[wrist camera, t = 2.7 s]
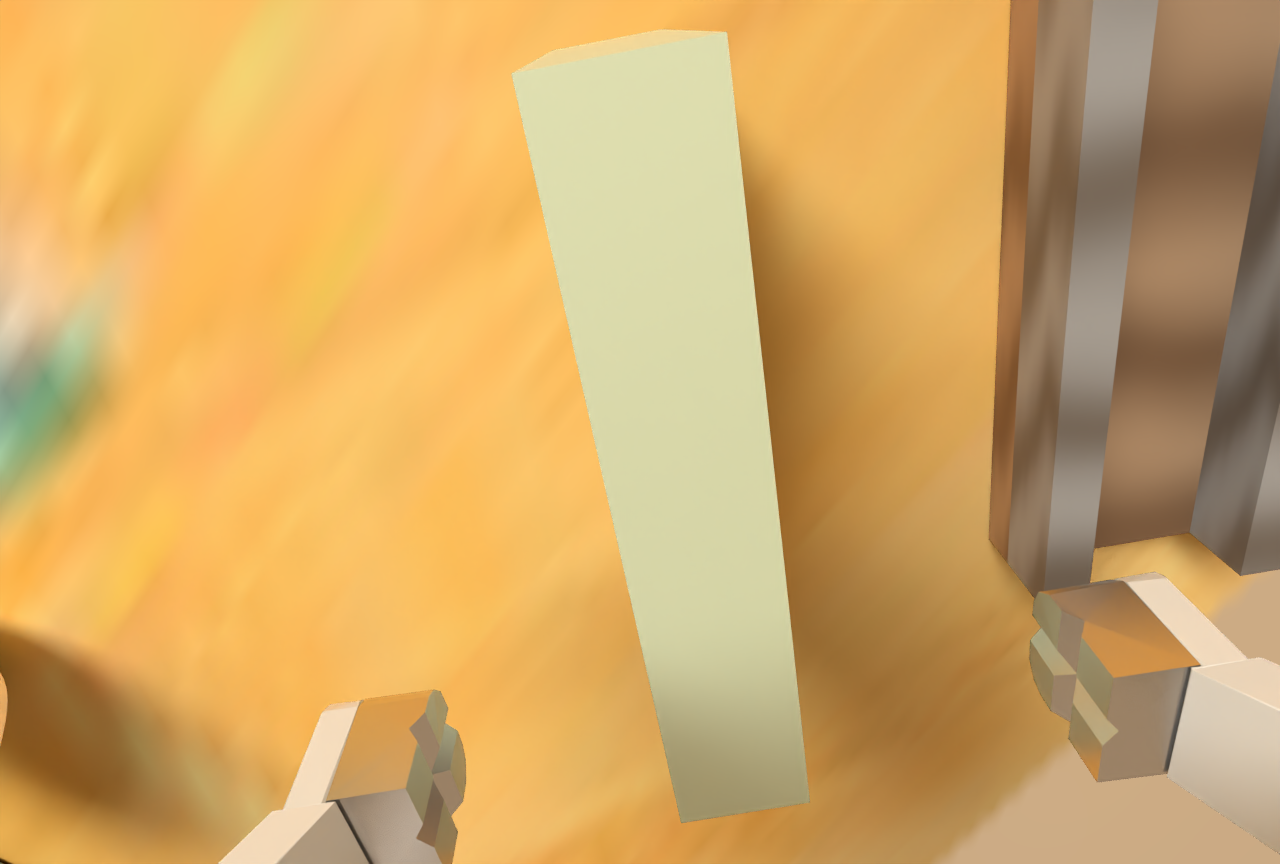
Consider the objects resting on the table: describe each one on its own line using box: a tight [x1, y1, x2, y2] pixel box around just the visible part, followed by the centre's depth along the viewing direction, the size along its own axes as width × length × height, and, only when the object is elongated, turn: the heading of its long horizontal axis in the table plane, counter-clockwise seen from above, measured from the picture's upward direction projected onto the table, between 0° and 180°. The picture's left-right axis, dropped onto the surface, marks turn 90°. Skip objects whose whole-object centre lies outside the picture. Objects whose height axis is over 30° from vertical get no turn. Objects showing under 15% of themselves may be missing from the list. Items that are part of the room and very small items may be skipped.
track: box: [989, 0, 1280, 598], centre depth 22 cm, size 26×8×4 cm, turn 10°
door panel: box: [512, 29, 810, 823], centre depth 20 cm, size 16×3×12 cm, turn 10°
